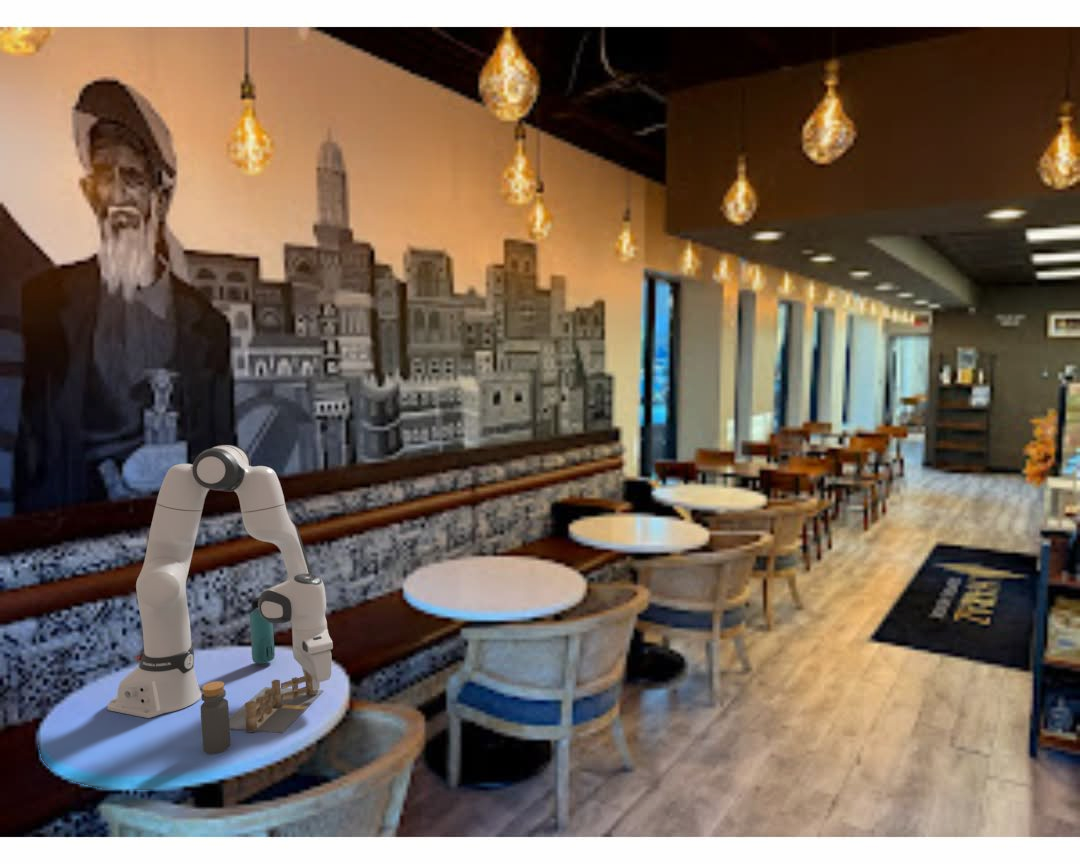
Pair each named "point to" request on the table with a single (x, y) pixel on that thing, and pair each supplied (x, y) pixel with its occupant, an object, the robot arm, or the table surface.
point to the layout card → (275, 712)
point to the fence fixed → (258, 705)
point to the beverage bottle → (261, 636)
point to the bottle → (215, 718)
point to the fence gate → (295, 690)
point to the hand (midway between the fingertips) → (312, 685)
